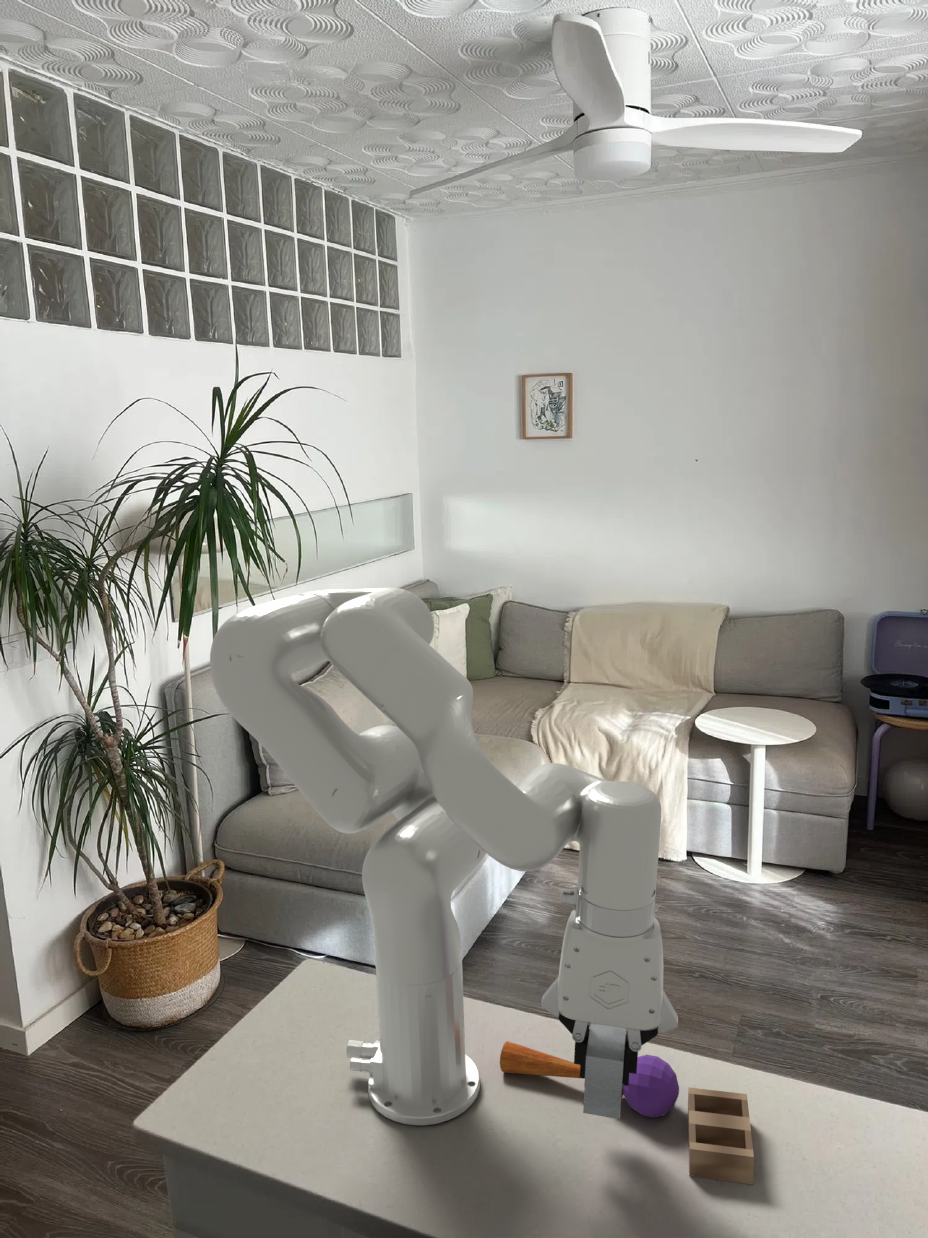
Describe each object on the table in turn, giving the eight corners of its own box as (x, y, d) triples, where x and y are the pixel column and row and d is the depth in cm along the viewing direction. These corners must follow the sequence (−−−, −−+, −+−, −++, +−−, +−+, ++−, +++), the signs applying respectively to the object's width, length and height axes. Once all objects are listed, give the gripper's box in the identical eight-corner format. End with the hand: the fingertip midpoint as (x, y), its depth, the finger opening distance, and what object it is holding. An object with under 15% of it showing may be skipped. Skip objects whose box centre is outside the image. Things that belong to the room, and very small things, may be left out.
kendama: (515, 1021, 111) (683, 1051, 102) (516, 1072, 111) (684, 1106, 102) (494, 1041, 105) (670, 1075, 97) (495, 1094, 105) (671, 1133, 96)
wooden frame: (689, 1175, 92) (689, 1149, 91) (687, 1112, 100) (688, 1087, 100) (753, 1184, 90) (753, 1157, 90) (746, 1119, 99) (746, 1094, 98)
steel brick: (582, 1118, 92) (586, 1055, 91) (588, 1069, 99) (592, 1011, 98) (619, 1124, 92) (623, 1062, 90) (623, 1075, 99) (627, 1016, 97)
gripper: (525, 916, 89) (518, 1084, 93) (703, 940, 86) (689, 1113, 90) (536, 880, 96) (529, 1037, 100) (701, 901, 93) (687, 1062, 97)
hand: (605, 1071), depth 95 cm, fingers closed on steel brick, 3 cm apart
